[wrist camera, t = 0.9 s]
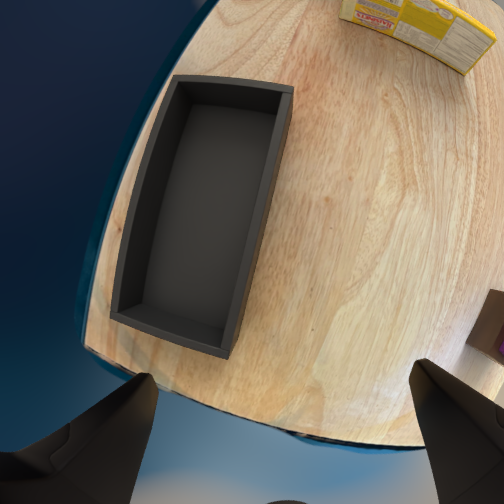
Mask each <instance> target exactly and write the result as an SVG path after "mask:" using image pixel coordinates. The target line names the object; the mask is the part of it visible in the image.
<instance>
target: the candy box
mask: <svg viewBox="0 0 504 504" xmlns="http://www.w3.org/2000/svg"><path fill="white" fill-rule="evenodd" d="M339 18H341V19H344V20H348V21H351V22H354V23H357V24H360V25H363V26H366V27H368V28H371V29H374V30H376V31H379V32H382V33H384V34H387V35H389V36H391V37H394V38H396V39H398V40H401V41H403V42H405V43H407V44H409V45H411V46H413V47H415V48H417V49H419V50H421V51H423V52H425V53H427V54H429V55H431V56H433V57H434V58H436V59H438V60H440V61H442V62H443V63H445V64H447V65H448V66H450V67H452V68H453V69H455V70H456V71H458V72H460V73H461V74H462V75H464V76H465V75H466V74H467V73H468V72H469V71H470V70H471V69H472V68H473V66H474V65H475V64H476V63H477V62H478V61H479V60H480V58H481V57H482V56H483V55H484V54H485V53H486V52H487V51H488V50H489V49H490V48H491V47H492V45H493V44H494V43H495V42H496V41H497V39H496V36H495V34H494V32H492V31H491V30H490V29H488V28H487V27H486V26H484V25H483V24H481V23H480V22H479V21H477V20H476V19H474V18H473V17H471V16H470V15H468V14H467V13H465V12H463V11H462V10H460V9H459V8H457V7H455V6H454V5H452V4H450V3H448V2H447V1H445V0H342V4H341V9H340V13H339Z"/></svg>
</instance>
